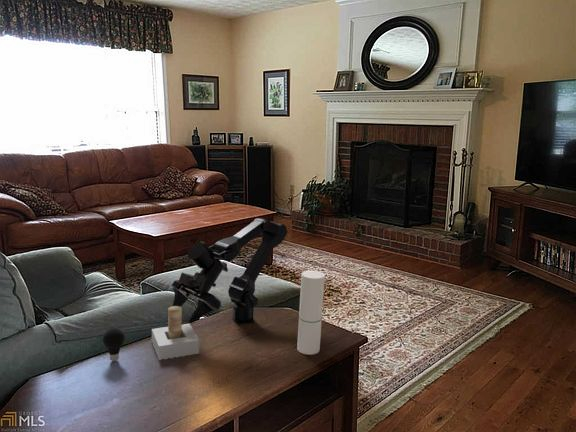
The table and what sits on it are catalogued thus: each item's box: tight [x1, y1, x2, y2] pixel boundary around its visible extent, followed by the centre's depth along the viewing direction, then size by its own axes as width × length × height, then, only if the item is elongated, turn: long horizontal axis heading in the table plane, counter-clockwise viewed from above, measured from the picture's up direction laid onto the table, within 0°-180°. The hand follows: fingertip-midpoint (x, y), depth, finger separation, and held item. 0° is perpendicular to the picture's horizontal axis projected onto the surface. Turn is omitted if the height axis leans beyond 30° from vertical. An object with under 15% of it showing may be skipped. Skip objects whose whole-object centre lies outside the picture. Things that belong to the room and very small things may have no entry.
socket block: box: [151, 323, 200, 361], centre depth 147 cm, size 12×12×4 cm
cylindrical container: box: [296, 270, 326, 356], centre depth 149 cm, size 7×7×25 cm
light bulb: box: [102, 327, 125, 362], centre depth 137 cm, size 6×6×10 cm
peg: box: [167, 305, 183, 340], centre depth 147 cm, size 4×4×13 cm
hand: (180, 317), depth 148 cm, fingers open, 9 cm apart
